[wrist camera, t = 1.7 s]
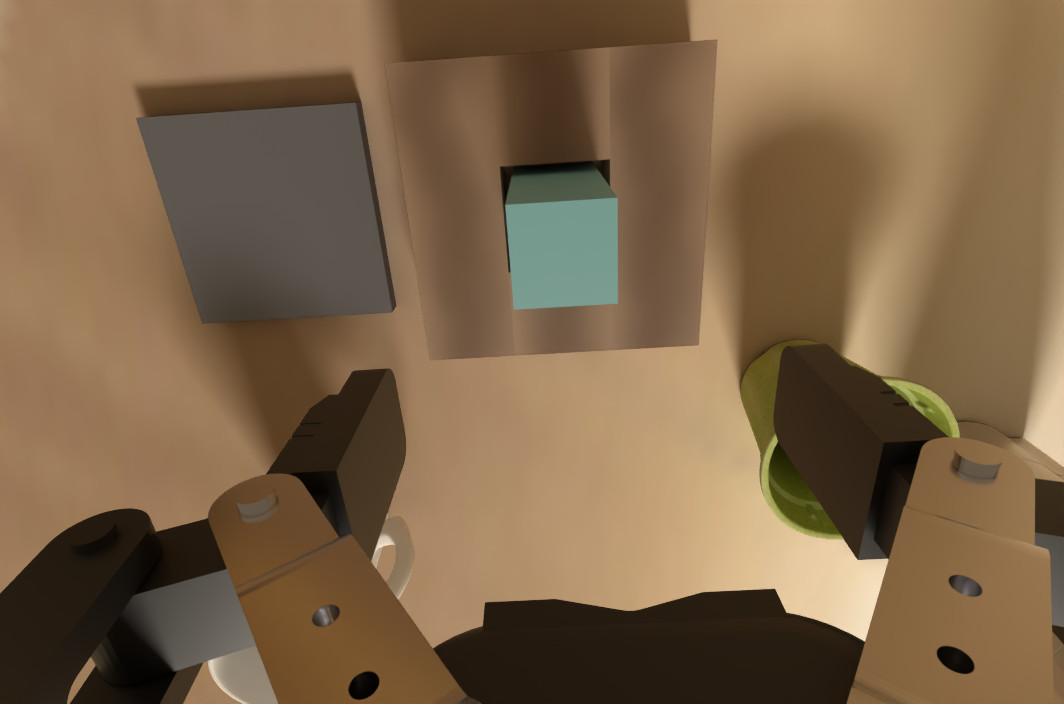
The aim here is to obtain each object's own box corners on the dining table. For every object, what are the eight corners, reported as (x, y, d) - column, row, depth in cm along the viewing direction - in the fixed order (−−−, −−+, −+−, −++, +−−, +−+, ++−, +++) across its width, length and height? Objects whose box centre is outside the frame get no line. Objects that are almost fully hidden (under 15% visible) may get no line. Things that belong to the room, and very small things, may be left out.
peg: (592, 161, 30) (617, 197, 21) (593, 239, 32) (617, 303, 23) (513, 166, 30) (505, 204, 21) (519, 243, 32) (513, 309, 23)
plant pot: (719, 314, 35) (774, 384, 27) (881, 307, 34) (984, 375, 26) (706, 448, 38) (751, 543, 31) (852, 442, 38) (934, 537, 30)
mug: (324, 560, 43) (252, 725, 32) (276, 490, 40) (180, 644, 29) (451, 522, 41) (422, 682, 30) (410, 447, 38) (362, 592, 28)
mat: (361, 101, 30) (355, 102, 29) (396, 306, 34) (392, 312, 33) (147, 116, 30) (136, 117, 29) (211, 317, 35) (202, 323, 34)
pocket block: (690, 45, 29) (717, 39, 24) (679, 313, 34) (698, 345, 30) (405, 65, 29) (384, 63, 25) (441, 327, 35) (429, 360, 31)
